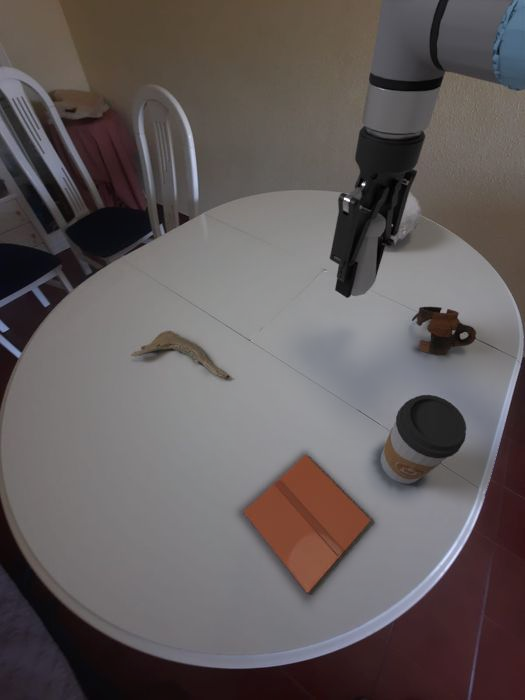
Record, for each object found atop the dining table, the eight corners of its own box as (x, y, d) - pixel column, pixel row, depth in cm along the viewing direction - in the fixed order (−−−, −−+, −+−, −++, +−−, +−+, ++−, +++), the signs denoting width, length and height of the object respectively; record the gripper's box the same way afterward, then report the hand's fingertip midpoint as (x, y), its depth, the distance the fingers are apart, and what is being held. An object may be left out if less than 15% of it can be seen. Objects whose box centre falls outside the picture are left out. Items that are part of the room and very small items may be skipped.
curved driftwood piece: (153, 331, 74) (151, 324, 73) (242, 349, 71) (242, 342, 70) (132, 360, 68) (129, 353, 67) (228, 382, 65) (227, 375, 63)
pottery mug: (402, 348, 70) (410, 309, 67) (413, 338, 77) (421, 302, 75) (468, 363, 64) (479, 320, 61) (474, 350, 71) (484, 312, 68)
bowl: (430, 242, 94) (445, 207, 86) (370, 263, 88) (380, 227, 81) (382, 209, 106) (391, 176, 98) (326, 225, 100) (331, 191, 93)
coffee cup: (369, 479, 53) (396, 437, 41) (378, 433, 58) (404, 383, 46) (425, 500, 51) (470, 461, 39) (429, 450, 56) (471, 402, 44)
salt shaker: (363, 304, 55) (383, 231, 45) (331, 291, 57) (344, 220, 48) (377, 284, 58) (398, 213, 48) (346, 273, 61) (361, 202, 51)
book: (370, 521, 49) (371, 519, 48) (307, 594, 44) (307, 593, 43) (305, 456, 55) (305, 453, 55) (243, 512, 50) (243, 510, 49)
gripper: (412, 104, 45) (372, 253, 63) (313, 139, 38) (300, 298, 55) (465, 117, 41) (407, 272, 59) (367, 159, 34) (334, 322, 52)
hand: (355, 284), depth 57 cm, fingers closed on salt shaker, 6 cm apart
